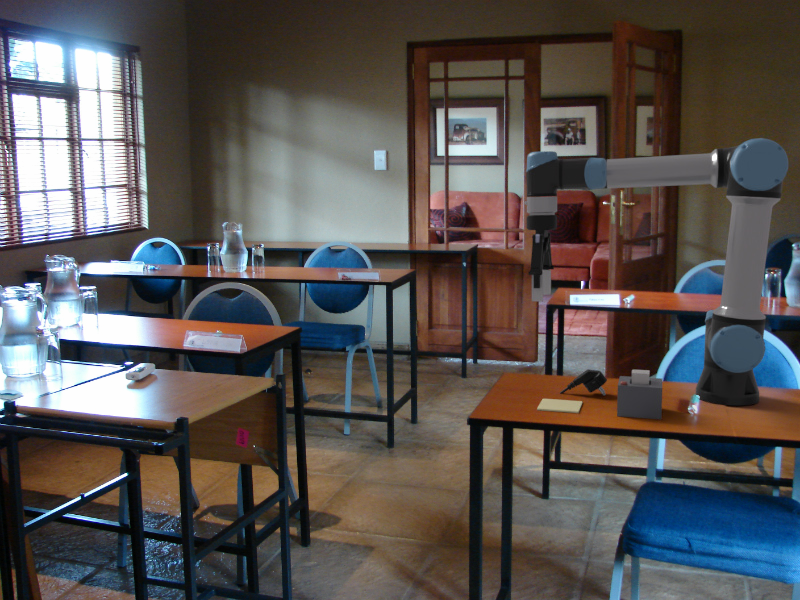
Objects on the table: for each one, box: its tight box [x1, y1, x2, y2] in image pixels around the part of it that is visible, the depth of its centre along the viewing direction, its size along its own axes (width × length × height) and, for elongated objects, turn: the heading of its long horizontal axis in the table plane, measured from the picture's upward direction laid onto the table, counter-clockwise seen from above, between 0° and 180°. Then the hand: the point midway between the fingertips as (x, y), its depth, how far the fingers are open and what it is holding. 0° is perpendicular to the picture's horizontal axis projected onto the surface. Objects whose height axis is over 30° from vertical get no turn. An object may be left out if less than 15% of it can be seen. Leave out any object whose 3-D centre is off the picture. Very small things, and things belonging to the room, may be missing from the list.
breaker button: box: [631, 369, 651, 385], centre depth 187 cm, size 4×4×4 cm
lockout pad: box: [536, 398, 583, 414], centre depth 194 cm, size 10×10×1 cm
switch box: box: [616, 375, 663, 420], centre depth 188 cm, size 10×10×8 cm
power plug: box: [559, 369, 608, 396], centre depth 204 cm, size 6×8×12 cm
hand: (541, 298), depth 198 cm, fingers open, 13 cm apart
